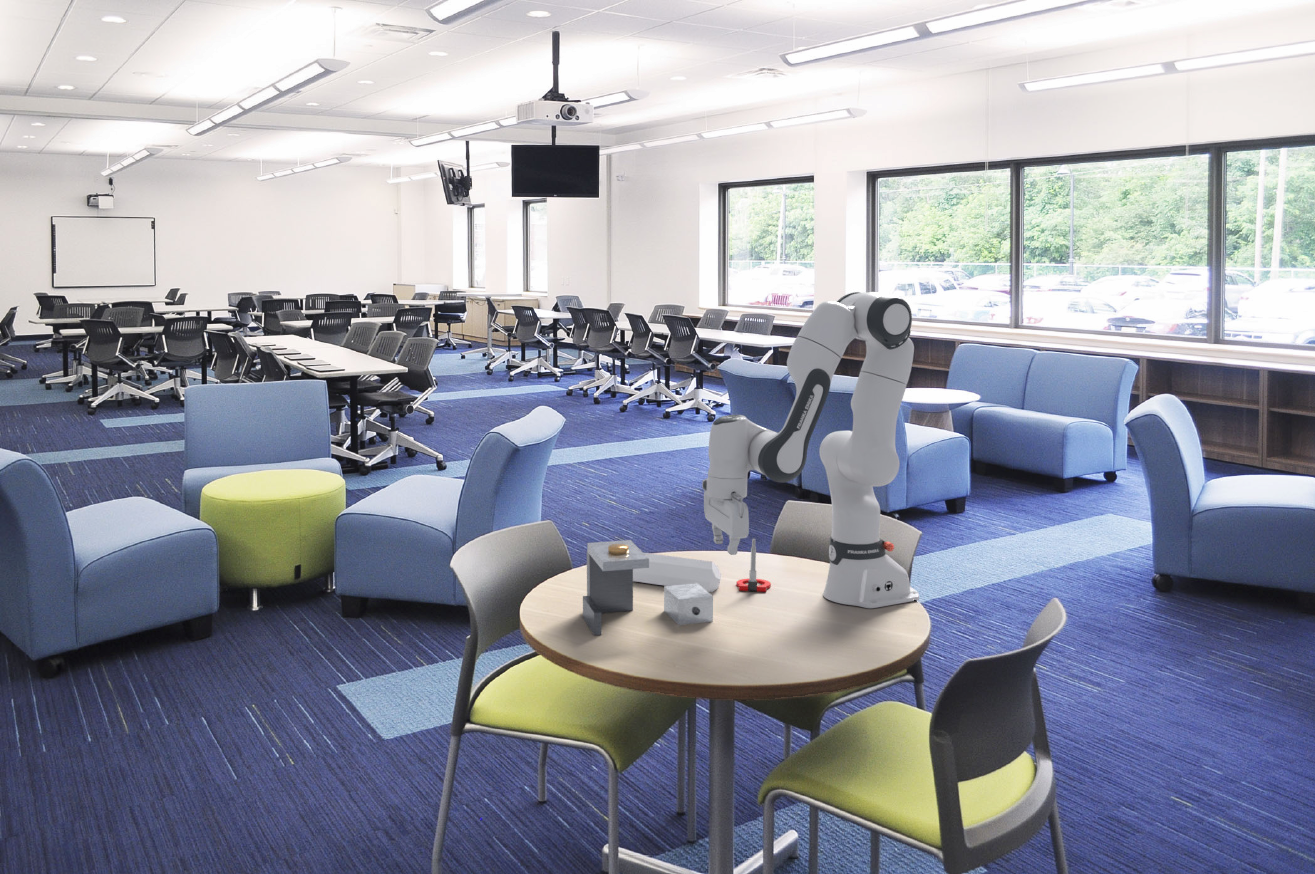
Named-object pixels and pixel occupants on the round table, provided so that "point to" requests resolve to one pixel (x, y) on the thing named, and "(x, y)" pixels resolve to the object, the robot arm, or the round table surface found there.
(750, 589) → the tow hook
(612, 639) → the round table surface
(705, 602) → the brushed aluminum block
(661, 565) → the crystal
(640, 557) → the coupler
